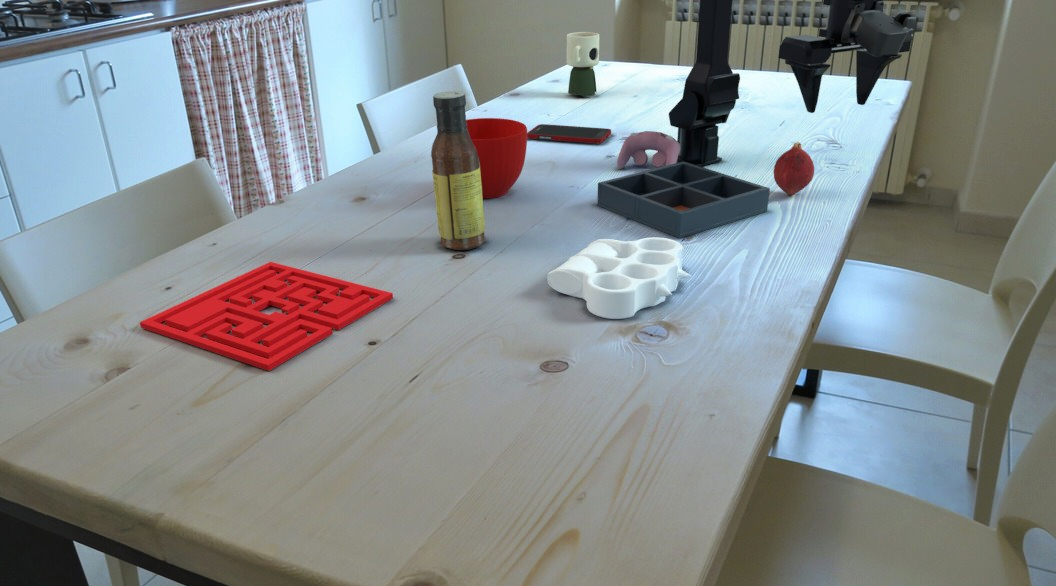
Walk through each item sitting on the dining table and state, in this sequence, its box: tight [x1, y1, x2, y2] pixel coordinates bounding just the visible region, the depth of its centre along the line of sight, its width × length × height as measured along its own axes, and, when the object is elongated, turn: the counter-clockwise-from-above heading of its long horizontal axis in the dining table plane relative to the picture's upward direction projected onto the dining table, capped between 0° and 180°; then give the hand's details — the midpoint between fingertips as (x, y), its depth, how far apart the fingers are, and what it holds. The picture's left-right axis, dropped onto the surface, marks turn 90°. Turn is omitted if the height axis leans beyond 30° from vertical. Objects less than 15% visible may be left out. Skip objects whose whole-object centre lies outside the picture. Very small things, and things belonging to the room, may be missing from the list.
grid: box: [596, 161, 771, 239], centre depth 129 cm, size 17×17×4 cm
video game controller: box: [616, 130, 680, 170], centre depth 147 cm, size 10×5×7 cm, turn 65°
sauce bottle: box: [430, 90, 486, 251], centre depth 115 cm, size 7×6×20 cm
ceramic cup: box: [466, 117, 528, 199], centre depth 135 cm, size 13×17×10 cm
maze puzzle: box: [139, 261, 394, 372], centre depth 101 cm, size 20×20×1 cm
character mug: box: [566, 31, 600, 98], centre depth 194 cm, size 11×7×13 cm, turn 159°
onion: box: [773, 141, 815, 196], centre depth 132 cm, size 6×6×8 cm
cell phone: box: [527, 123, 612, 145], centre depth 166 cm, size 8×15×1 cm, turn 69°
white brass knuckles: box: [546, 236, 692, 320], centre depth 105 cm, size 3×18×15 cm
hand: (836, 108), depth 125 cm, fingers open, 9 cm apart
